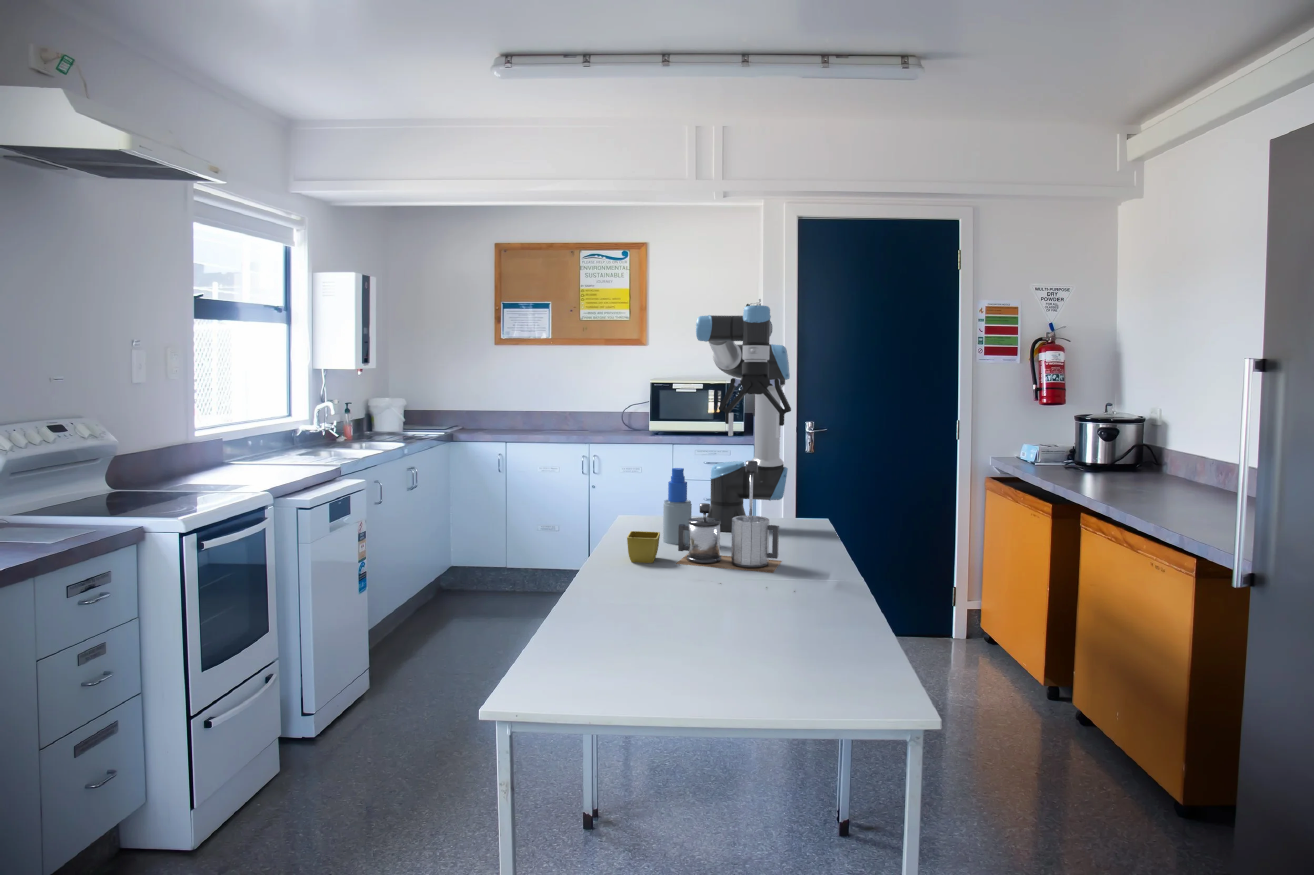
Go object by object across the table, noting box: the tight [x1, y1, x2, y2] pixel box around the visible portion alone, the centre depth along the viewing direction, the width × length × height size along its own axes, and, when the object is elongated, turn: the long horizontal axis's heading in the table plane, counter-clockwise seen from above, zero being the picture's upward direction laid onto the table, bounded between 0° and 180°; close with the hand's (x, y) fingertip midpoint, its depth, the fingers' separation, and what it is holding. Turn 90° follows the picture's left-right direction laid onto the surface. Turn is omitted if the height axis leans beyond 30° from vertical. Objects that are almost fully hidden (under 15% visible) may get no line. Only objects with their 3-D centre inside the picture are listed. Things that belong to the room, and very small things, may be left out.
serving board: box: [675, 552, 783, 574], centre depth 232 cm, size 14×28×2 cm, turn 71°
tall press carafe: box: [730, 515, 780, 569], centre depth 229 cm, size 10×13×13 cm
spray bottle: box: [662, 467, 692, 546], centre depth 257 cm, size 9×9×25 cm
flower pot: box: [626, 530, 661, 564], centre depth 234 cm, size 9×9×9 cm
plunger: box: [745, 460, 758, 522], centre depth 228 cm, size 7×7×19 cm
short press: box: [677, 502, 721, 564], centre depth 234 cm, size 10×13×16 cm
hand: (754, 436), depth 228 cm, fingers open, 13 cm apart
